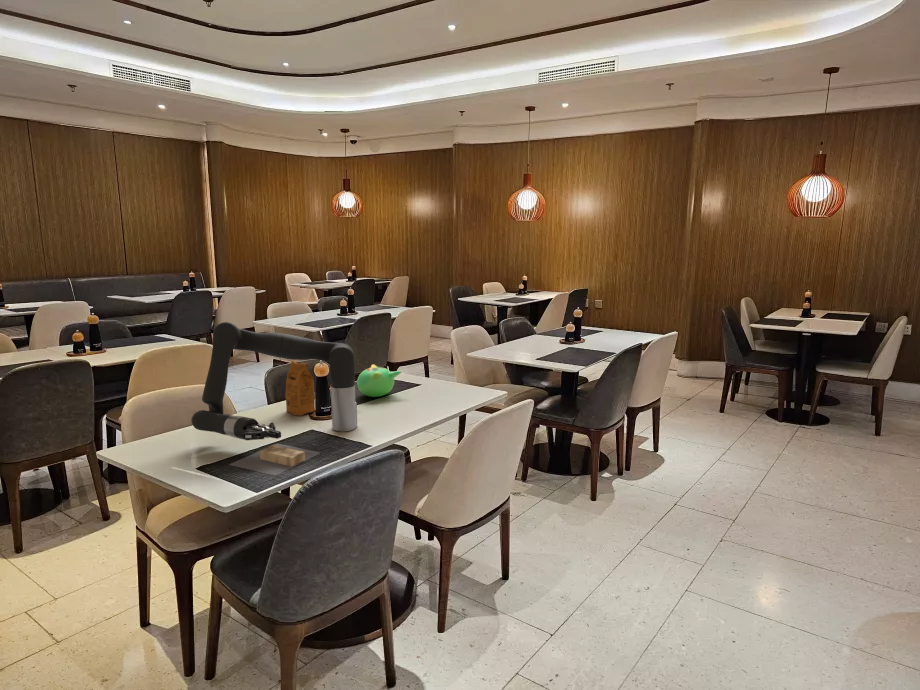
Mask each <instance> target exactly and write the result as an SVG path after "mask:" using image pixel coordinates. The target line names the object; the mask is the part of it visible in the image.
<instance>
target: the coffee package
mask: <svg viewBox="0 0 920 690" xmlns="http://www.w3.org/2000/svg"><path fill="white" fill-rule="evenodd" d="M308 367H309V364H308V363H297V362H296V360H291V362H290V365H289V369H288V371H287V375H286V376H287V377H286V379H285V380H286V381H285V402H286V406H285V408H286V412H287V413H290V414H291V415H293V416H299V417H300V416H301V417H302V416H303V415H305V414H309V413H313V412H315V411H316V407H315V404H316V402H315V400H316V396H315V379H314V377H313V376H312V374H311V372H310V371H309V369H308Z"/></svg>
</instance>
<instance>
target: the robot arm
mask: <svg viewBox="0 0 920 690" xmlns="http://www.w3.org/2000/svg"><path fill="white" fill-rule="evenodd" d="M234 350H237V351H247V352H248V351H249V352H254V353H259V354H262V355H265V356H270V357H275V358H280V359H285V360H291V361H293V360H294V361H300V360H302V361H304V360H317V361H322V362H326V363H329V379H330V381H329V382H330V402H331V428H332V430H334V431H336V432H350V431H353V430H355V429H356V428H357V427H358V404H357V403H358V402H356V383H355V382H356V376H355V372H356V371H355V354H354V353H355V352H354V350H353V348H352V346H351V345H348V344H347V343H343V342H329V341H327V342H326V341H320V340H314V339H311V338H307V337H303V336H298V335H293V334H288V333H281V332H256V331H250V330H247V329H244V328H243V329H242V328H239V327H238V326H236V324H234V323H233V322H229V321H224V322H220V323H218V324H217V325H216V326H215V327H214V329H213V332H212V348H211V355H210V356H211V357H210V363H209V368H208V371H207V376H206V380H205V385H204V387H203V390H202V391H203V392H202V396H201V400H202V403H204V404H207V405H208V410H206V409H205V410H204V409H203V410H202V409H201V410H198V411H195V413H194V414H193V415H192V417H191V425H192V426H193V428H194V429H195V430H199V431H203V432H210V433H211V432H212V433H216V434H220V435H223V436H224V435H225V436H229V437H231V438H235V439H239V440H244V441H255V440H257V441H258V440H265V438H266V439H269V438H272V439H276V440H278V439H280V438H282V432H281V431H280V430H276V426H275V425H276V424H275V423H274V422H270V423H269V424H268V425H266V424H264V423H259V422H258V420H256V419H255V418H253V417H248V416H242V415H232V414H225V413H224V397H225V392H226V389H227V381H228V375H229V365H230V359H231V356H232V352H233V351H234Z"/></svg>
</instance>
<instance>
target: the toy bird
mask: <svg viewBox="0 0 920 690" xmlns="http://www.w3.org/2000/svg"><path fill="white" fill-rule="evenodd" d="M401 373H402V371H401V370H396V371H390V370H389V369H388V368H385V367H382V366H377V365H376V364H371V366H370V367H369V368H366V369H364V370H363V371H362V372H361V373H360V374H359V375H358V377H357V380H356V381H357V382H356V384H357V388H358V390H359V392H360V393H362V395H365V396H367V397H371V398H377V397H382V396H385V395H387V394H389V393H390V392H391V391H392V390H393V388H394V385H395V378H396V377H397V376H399V375H400V374H401Z"/></svg>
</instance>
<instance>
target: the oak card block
mask: <svg viewBox="0 0 920 690" xmlns="http://www.w3.org/2000/svg"><path fill="white" fill-rule="evenodd" d="M259 451H260V459H261V460H266V461H270V462H275V463H279V464H284V465H288V466H294V465H296V464H298V463H300V462H302V461H304V460H305V452H304V451H299V450H294V449H289V448H284V447H280V446H275V444H272V445H270V446H267V447H265V448H262V449H260V450H259ZM304 462H305V461H304ZM302 463H303V462H302ZM300 464H301V463H300ZM298 465H299V464H298ZM296 466H297V465H296ZM294 467H295V466H294Z"/></svg>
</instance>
